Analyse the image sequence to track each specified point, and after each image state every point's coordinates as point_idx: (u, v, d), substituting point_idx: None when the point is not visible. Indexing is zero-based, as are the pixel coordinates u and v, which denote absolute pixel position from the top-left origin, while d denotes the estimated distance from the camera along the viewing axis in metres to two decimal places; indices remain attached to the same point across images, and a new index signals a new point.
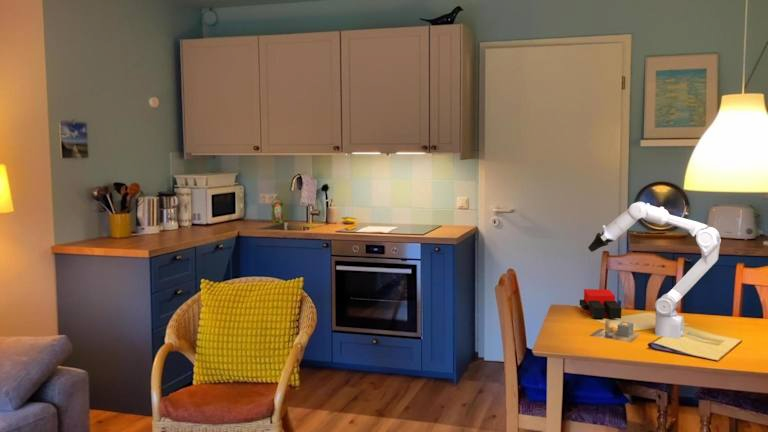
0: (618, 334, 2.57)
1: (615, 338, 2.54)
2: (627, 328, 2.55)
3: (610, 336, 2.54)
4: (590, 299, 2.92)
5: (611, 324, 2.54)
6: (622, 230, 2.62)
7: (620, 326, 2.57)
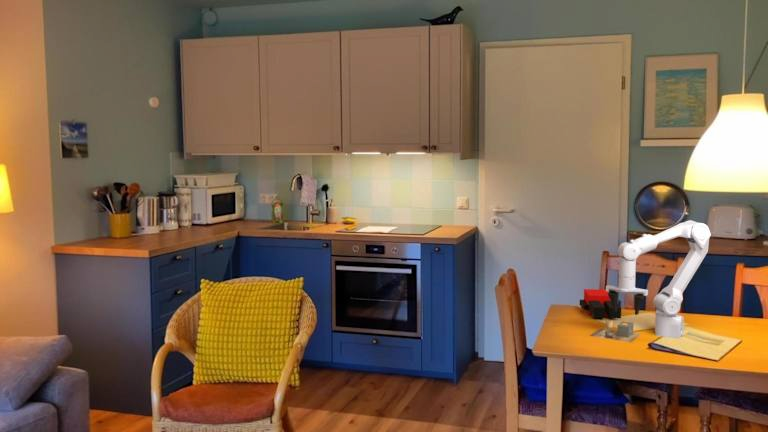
0: (618, 334, 2.57)
1: (615, 338, 2.54)
2: (627, 328, 2.55)
3: (610, 336, 2.54)
4: (590, 299, 2.92)
5: (611, 324, 2.54)
6: None
7: (620, 326, 2.57)
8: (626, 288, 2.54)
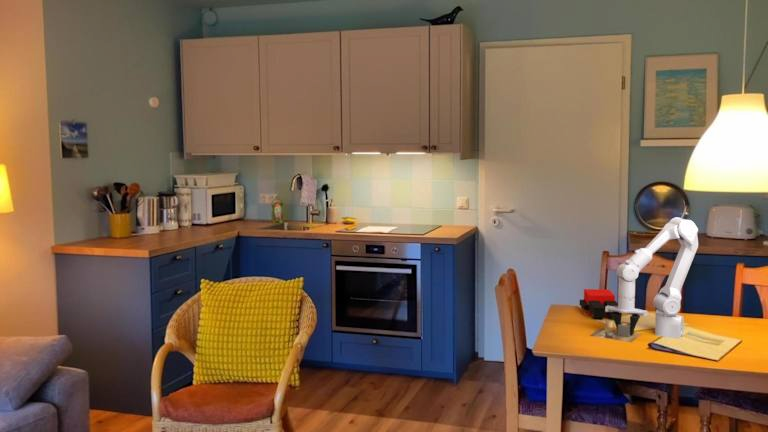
0: (618, 334, 2.57)
1: (615, 338, 2.54)
2: (627, 328, 2.55)
3: (610, 336, 2.54)
4: (590, 299, 2.92)
5: (611, 324, 2.54)
6: None
7: (620, 326, 2.57)
8: (625, 309, 2.55)
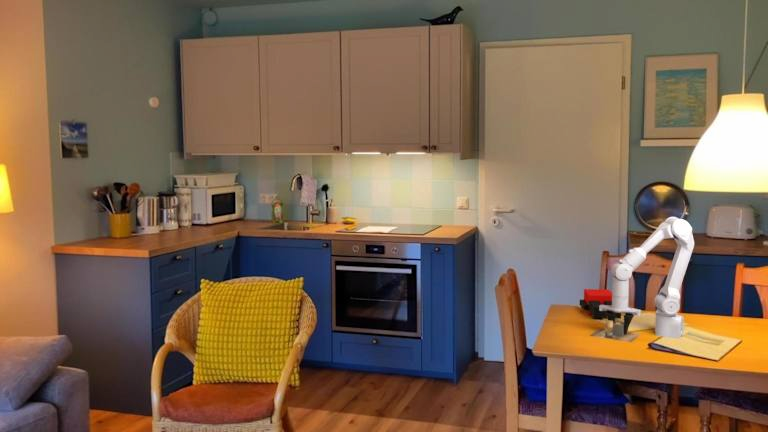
0: None
1: (615, 338, 2.54)
2: (621, 327, 2.56)
3: (610, 336, 2.54)
4: (590, 299, 2.92)
5: (611, 324, 2.54)
6: None
7: (614, 325, 2.58)
8: (619, 308, 2.56)
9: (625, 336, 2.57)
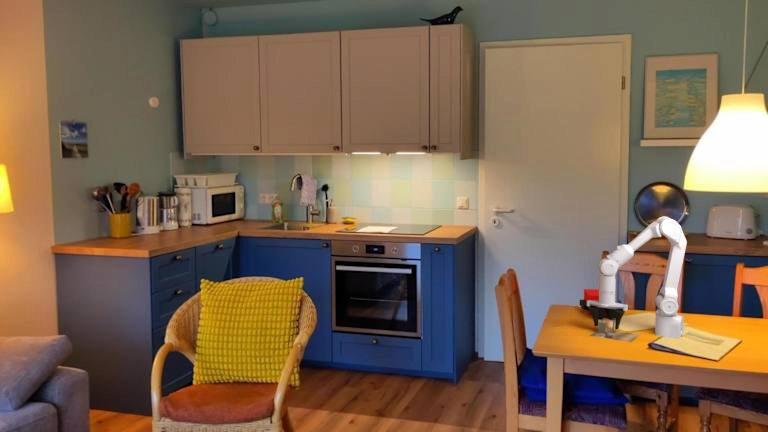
0: (599, 331, 2.61)
1: (615, 338, 2.54)
2: None
3: (610, 336, 2.54)
4: (590, 299, 2.92)
5: (611, 324, 2.54)
6: None
7: (601, 323, 2.60)
8: (606, 303, 2.59)
9: (625, 336, 2.57)
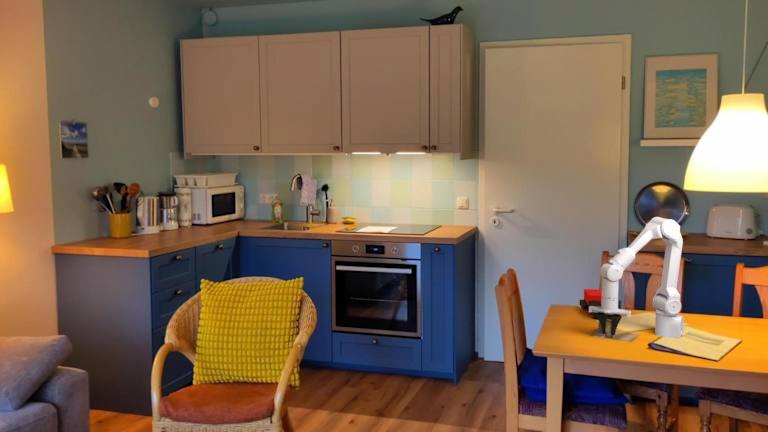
0: (599, 331, 2.61)
1: (615, 338, 2.54)
2: None
3: (610, 336, 2.54)
4: (590, 299, 2.92)
5: (611, 324, 2.54)
6: None
7: None
8: (609, 309, 2.52)
9: (625, 336, 2.57)
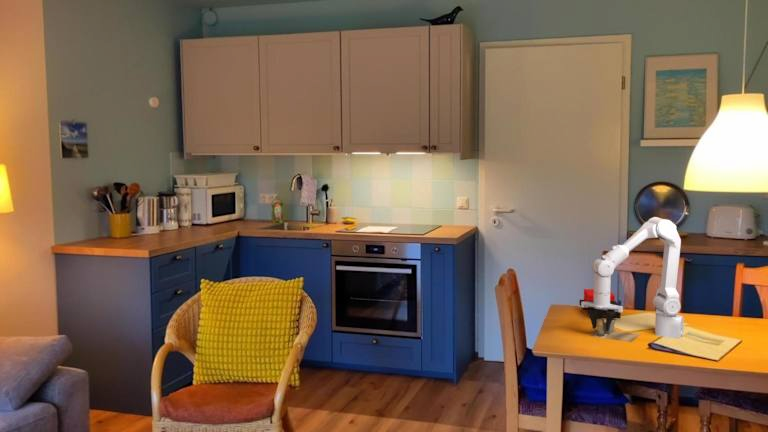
0: None
1: (615, 338, 2.54)
2: None
3: (602, 334, 2.56)
4: (590, 299, 2.92)
5: (602, 322, 2.56)
6: None
7: None
8: (601, 304, 2.54)
9: (625, 336, 2.57)
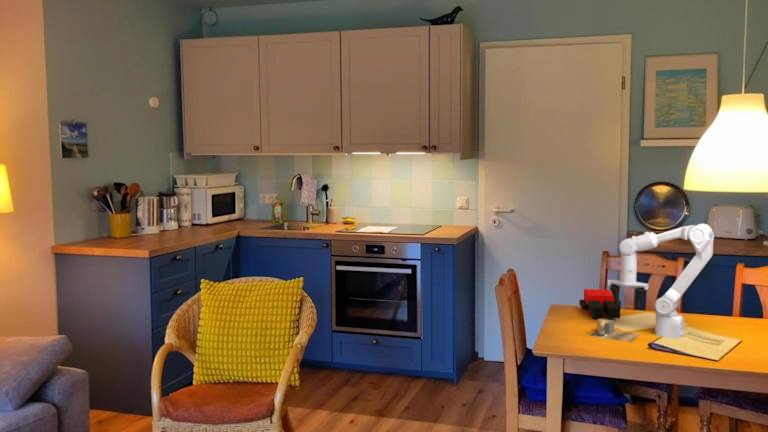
0: None
1: (615, 338, 2.54)
2: (608, 325, 2.59)
3: (602, 334, 2.56)
4: (589, 299, 2.92)
5: (603, 322, 2.56)
6: None
7: None
8: (627, 282, 2.62)
9: (625, 336, 2.57)
